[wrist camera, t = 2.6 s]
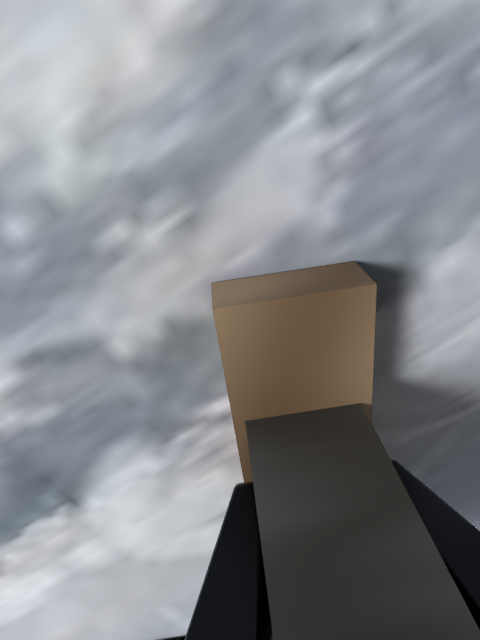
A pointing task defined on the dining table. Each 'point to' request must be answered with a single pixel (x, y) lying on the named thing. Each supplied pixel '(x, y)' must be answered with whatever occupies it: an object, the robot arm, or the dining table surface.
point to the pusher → (327, 464)
